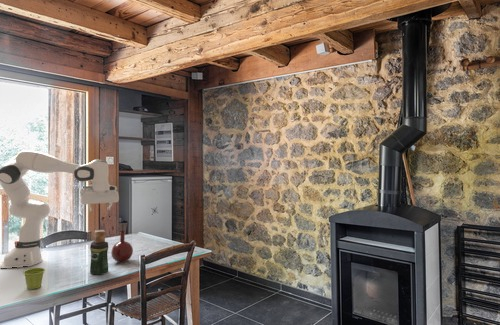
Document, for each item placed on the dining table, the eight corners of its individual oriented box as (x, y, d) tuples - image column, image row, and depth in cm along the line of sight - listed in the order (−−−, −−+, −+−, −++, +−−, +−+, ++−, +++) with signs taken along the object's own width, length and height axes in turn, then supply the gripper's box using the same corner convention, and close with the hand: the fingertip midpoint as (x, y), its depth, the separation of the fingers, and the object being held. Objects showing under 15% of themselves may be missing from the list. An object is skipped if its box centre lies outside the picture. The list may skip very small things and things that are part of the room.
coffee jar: (110, 271, 196) (111, 240, 196) (101, 276, 188) (101, 243, 188) (97, 269, 199) (97, 239, 199) (87, 274, 191) (87, 242, 191)
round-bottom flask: (137, 260, 218) (137, 230, 217) (122, 266, 206) (123, 234, 205) (121, 257, 223) (122, 228, 222) (106, 263, 211) (106, 232, 210)
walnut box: (95, 243, 190) (95, 232, 190) (93, 241, 194) (94, 230, 194) (105, 241, 193) (105, 231, 192) (103, 239, 197) (103, 229, 197)
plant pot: (48, 283, 176) (48, 267, 176) (38, 291, 166) (38, 274, 166) (30, 283, 175) (30, 267, 175) (19, 291, 166) (19, 273, 166)
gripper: (81, 188, 184) (81, 213, 185) (119, 187, 196) (119, 210, 196) (79, 187, 190) (79, 211, 190) (117, 186, 201) (117, 208, 201)
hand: (100, 210), depth 193 cm, fingers open, 8 cm apart
